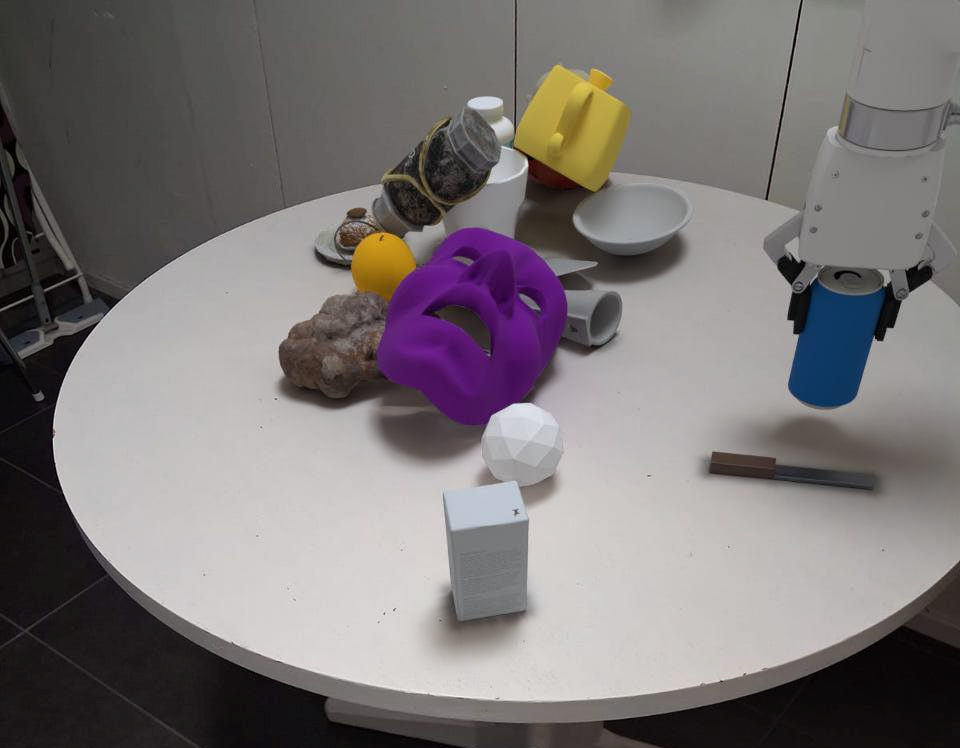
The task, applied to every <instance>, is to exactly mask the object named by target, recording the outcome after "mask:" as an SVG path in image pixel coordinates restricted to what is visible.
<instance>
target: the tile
mask: <svg viewBox="0 0 960 748" xmlns="http://www.w3.org/2000/svg"><path fill="white" fill-rule="evenodd" d="M543 260H544V261H545V262H546V263H547V265H548V266H549V267H550V268H551V270H552V271H553V272H554V273H555V275H556V276H557V277H560V276H563V275H566V274H571V273H574V272H577V271H582V270H585V269H589V268H593V267H596V266H597V265H598V262H597V261H590V260H589V261H588V260H579V259H578V260H577V259H565V258H547V259H543Z"/></svg>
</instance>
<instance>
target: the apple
mask: <svg viewBox="0 0 960 748" xmlns="http://www.w3.org/2000/svg"><path fill="white" fill-rule="evenodd" d="M351 263H352V264H350V271H351V272H350V273H351V277H352V279H353V282H354V285H355V287H356V289H357V291H358V292H359V294H362V293H364V292H367V291H372V292H375V293H377V294H379V295H380V296H381V297H382V298H383V299H384V300H386V301H387V302H388V303H390V300H391V298H392V295H393V293H394V292H395V290H396V289H397V287H398V286H399V284H400V283H401V281H402V280H403V279H404V278H405V277H406V276H407V275H408V274H410V273H411V272H412V271H414V270H416V269H417V264H416V259H415V257H414V254H413V252H412V250H411V248H410V246H409V245H408V244H407V243H406V241H404V239H403V240H402V239H401V238H399V237H398V236H396V235H393V234H390V233H375V234H372V235H370V236H368V237H366V238H365V239H363V240H362V241H361V243H360V244H359V245H358V246H357V248H356V250H355V252H354V255H353V259H352V261H351Z"/></svg>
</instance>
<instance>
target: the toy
mask: <svg viewBox="0 0 960 748" xmlns="http://www.w3.org/2000/svg"><path fill="white" fill-rule="evenodd" d="M557 65H559V66H561V67H563V68H564V69H566V70H568V71H570V72H571V73H573V74H575V75H576V76H578V77H580V78H582V79H583V80H585V81H587V82H588V83H589V78H590V74H589V73H587V72H585V70H584V69H576V68H565V66H564V64H563V62H562V61H560V62H559V63H558V64H557ZM551 71H552V70H549V71H547V72H546V73H544V74H542V75H541V77H540V78H539V79H538V80H537V82H536V84H535V86H534V88H533V98H534V96H535V94H536V93H537V91H538V90H539V88H540V87H541V85H542V84H543V82H544V81H545V79H546V78H547V76H548V75H549V73H550V72H551ZM533 98H532V95H531V94H530V93H528V94H527V96H526V102H527V107H528V106H529V104H530V103H531V101H532V99H533ZM514 148H515V150H517V151H519V152H520V153H522V154H523V155H524V156H526V157H527V160H528V174H527V177H529V178H531V180H533V181H534V182H536V183H537V184H539V185H541V186H543V187H546V188H548V189H563V190H564V189H565V190H566V189H574V188H579V187H581V185H580V184H578V183H576V182H575V181H573V180H571V179H569V178H568V177H566V176H564V175H562V174H561V173H559V172H557V171H556V170H554V169H552V168H550V167H549V166H547V165H545V164H544V163H542V162H540V161H539V160H537V159H535V158H533V157H532V156H530V155H528V154H527V153H525V152H523V151H521V150H520V149H518V148H516V147H515V146H514Z"/></svg>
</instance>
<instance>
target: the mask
mask: <svg viewBox="0 0 960 748" xmlns="http://www.w3.org/2000/svg"><path fill="white" fill-rule="evenodd" d="M457 256H461V257H465V258H468V259H471V260H473V261H474V263H472V264H471V265H470V266H469V265H467V264H464V263H462V262H460V261H458V260H456V259H452V258H454V257H457ZM544 260H545V259H543V258H542V257H541V256H540V255H539V254H538V253H537V252H536V251H535V250H534V249H532V248H531V247H530V246H529V245H527V244H526V243H524V242H521V241H520V240H517V239H515V238H514V239H512V238H510V237H507V236H505V235H502V234H499V233H496V232H493V231H490V230H487V229H483V228H464V229H460V230H458V231H455V232H454V233H452V234H451V235H449V236H448V237H447V236H446V237H445V239H444V240H443V241H442V242H441V243H440V244H439V246H438V247H437V248H436V250H435V251H434V252H433V254H432V255H431V257H430V258H429V260H428V261H427V263H426V264H425V265H424V266H421V267H418V268H416V270H414V271H412V272H411V273H410V274H408V275H407V276H406V277H405V278H404V279H403V280H402V281H401V283H400V284H399V286H398V287H397V289H396V290H395V292H394V293H393V295H392V298H391V300H390V302H389V307H388V311H387V316H386V321H385V330H384V333H383V335H382V337H381V340H380V343H379V346H378V349H377V362H378V366H379V368H380V370H381V371H382V373H383V374H384V375H385V376H386V377H387V378H388V379H389V380H388V381H391V382H392V383H395V384H398V385H401V386H404V387H407V388H410V389H414V390H416V391H419V392H420V393H422V394H423V395H424V396H425V397H426V398H427V400H428V401H430V403H432V405H434V406H435V407H436V408H437V410H439V411H440V413H441V414H443V415H444V416H445V417H446V418H447V419H449V420H451V421H454V422H457V423H458V424H459V423H460V424H462V425H465V426H470V427H472V426H474V427H477V426H487V425H488V423H489V420H490V418H491V416H492V415H494V414H496V413H497V412H499V411H501V410H503V409H505V408H507V407H509V406H510V405H512V404H518V403H522V401H523V400H524V398H525V396H527V395H528V394H529V392H530V391H531V390H532V388H533V386H534V384H535V382H536V381H537V380H538V379H539V377H540V376H541V374H542V373H543V371H544V370H545V369H546V367H547V365H548V364H549V362H550V361H551V358H552V357H553V355H554V353H555V351H556V349H557V348H558V345H559V342H560V341H561V339H562V337H563V336H562V333H563V330H564V328H565V324H566V320H567V310H568V303H567V299H566V294H565V292H564V290H565V289H564V286H563V284H562V283H561V281H560V278H559V276H556V275H555V273H554V272H553V271H552V270H551V268H550V267H549V266H548V265H547V263H546V262H545V261H544ZM518 293H521V294H523V295H525V296H527V297H529V298H530V299H532V300H533V301H534V302H535V303H536V304H537V305H538V307H539V308H540V310H541V317H540V316H539V315H538V314H537V313H536V312H535V311H534V310H533V309H532V308H530V307H529V306H528V305H527V304H526V303H525V302H524V301H523V300H522V299H521V298H520V296H519V294H518ZM451 306H456V307H461V308H466V309H468V311H469V310H470V311H471V312H472V313H474V314H475V315H477V316H478V317H479V319H480V320H481V321H482V323H483V324H484V326H485V327H486V329H487V331H488V334H489V344H490V345H489V346H490V350H491V354H490V358H489V357H488V355H487V354H486V353H485V352H484V351H483V350H482V349H481V348H482V347H481V346H480V345H479V344H478V343H477V342H476V341H475V340H474V339H473V338H472V336H471V335H469V334H468V333H467V332H466V331H465V330H464V329H462V327H460V326H458V325H457V324H454V323H452V322H450V321H447V320H444V319H442V318H441V319H438V318H434V317H431V316H430V315H431V314H433V313H435V314H436V312H439V311H440V310H442V309H445V308H446V307H451Z"/></svg>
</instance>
